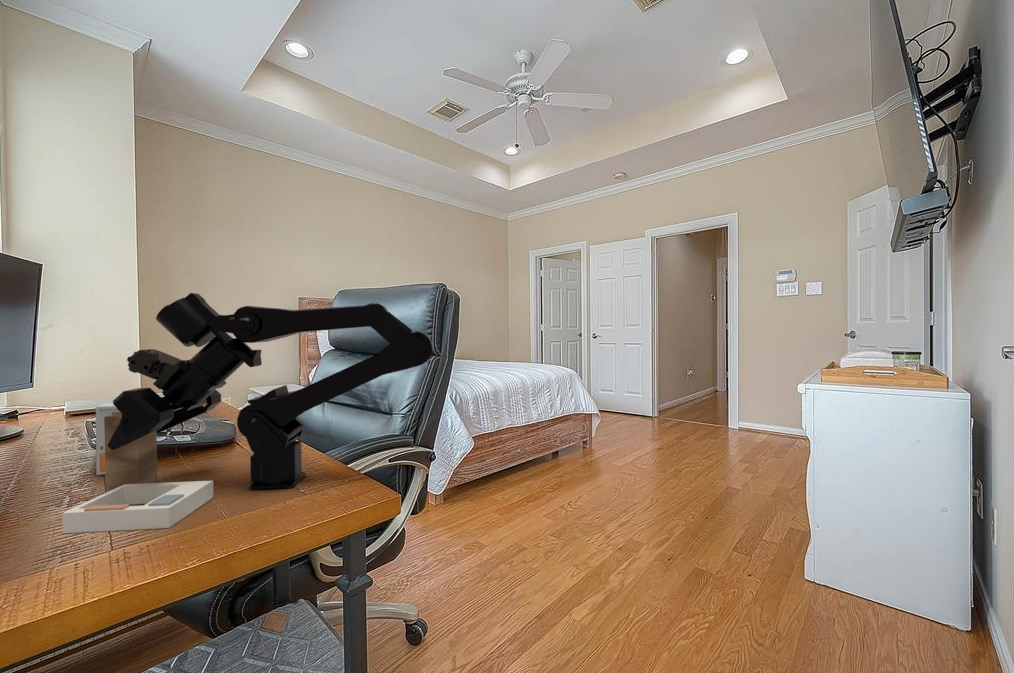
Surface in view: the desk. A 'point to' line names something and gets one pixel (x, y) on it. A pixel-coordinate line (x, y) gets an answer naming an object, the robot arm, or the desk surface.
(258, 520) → the desk surface
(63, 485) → the desk surface
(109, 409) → the skincare box
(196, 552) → the desk surface
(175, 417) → the robot arm
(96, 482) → the desk surface
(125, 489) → the tray
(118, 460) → the walnut plug
